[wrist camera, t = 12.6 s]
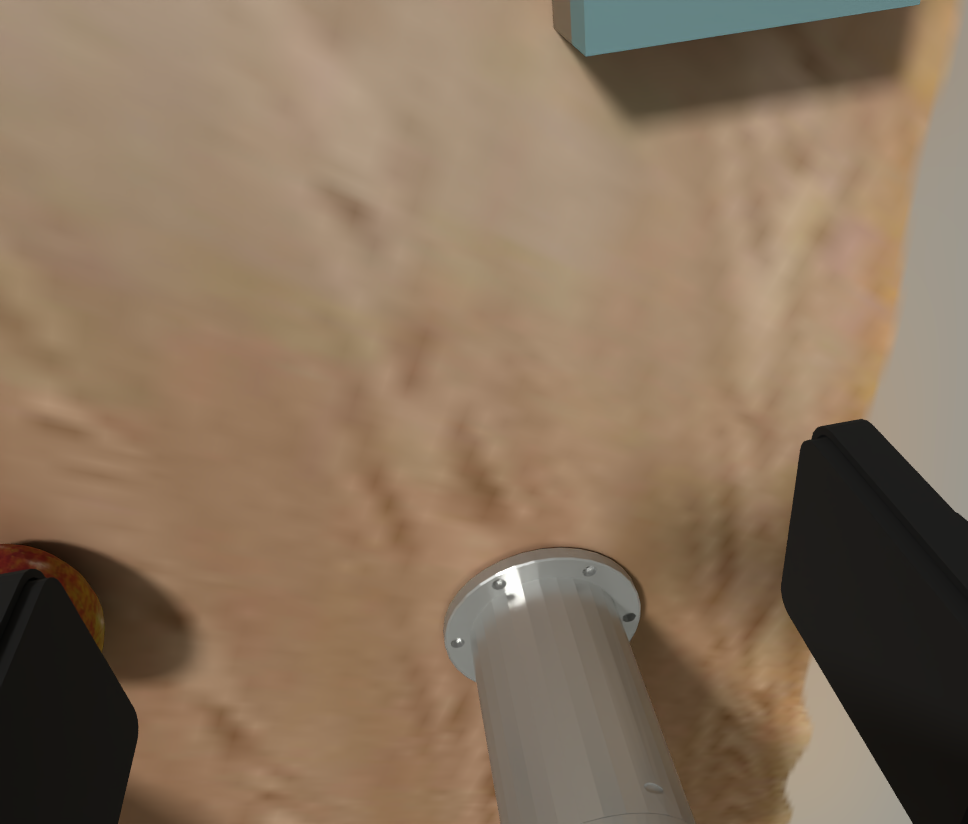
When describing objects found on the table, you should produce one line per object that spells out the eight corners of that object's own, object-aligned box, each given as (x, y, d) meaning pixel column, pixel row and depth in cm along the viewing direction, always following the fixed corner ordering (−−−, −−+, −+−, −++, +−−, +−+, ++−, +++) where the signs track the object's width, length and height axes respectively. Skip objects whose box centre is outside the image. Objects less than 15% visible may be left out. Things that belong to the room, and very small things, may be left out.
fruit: (-104, 530, 41) (-186, 661, 34) (79, 501, 42) (33, 623, 35) (-19, 650, 47) (-75, 782, 40) (142, 623, 47) (112, 748, 41)
